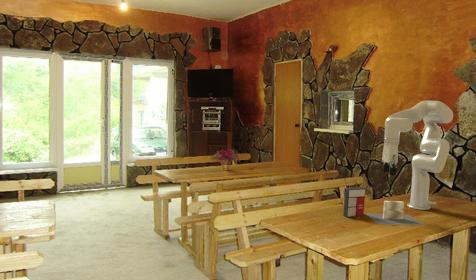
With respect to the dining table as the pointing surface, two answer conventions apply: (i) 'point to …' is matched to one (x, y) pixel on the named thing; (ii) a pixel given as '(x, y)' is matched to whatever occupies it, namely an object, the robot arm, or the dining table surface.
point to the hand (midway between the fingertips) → (389, 173)
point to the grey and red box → (354, 201)
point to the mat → (394, 220)
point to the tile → (393, 209)
